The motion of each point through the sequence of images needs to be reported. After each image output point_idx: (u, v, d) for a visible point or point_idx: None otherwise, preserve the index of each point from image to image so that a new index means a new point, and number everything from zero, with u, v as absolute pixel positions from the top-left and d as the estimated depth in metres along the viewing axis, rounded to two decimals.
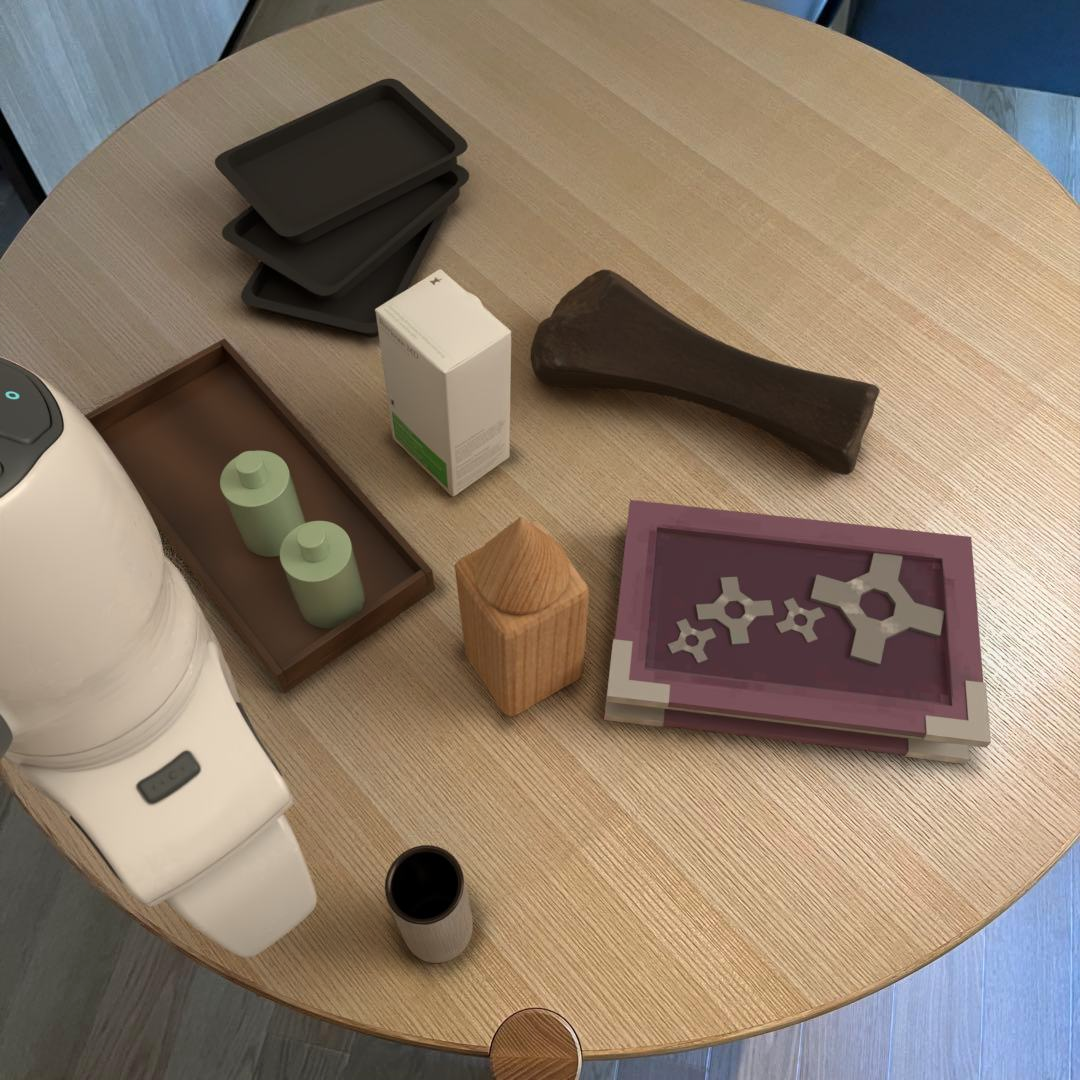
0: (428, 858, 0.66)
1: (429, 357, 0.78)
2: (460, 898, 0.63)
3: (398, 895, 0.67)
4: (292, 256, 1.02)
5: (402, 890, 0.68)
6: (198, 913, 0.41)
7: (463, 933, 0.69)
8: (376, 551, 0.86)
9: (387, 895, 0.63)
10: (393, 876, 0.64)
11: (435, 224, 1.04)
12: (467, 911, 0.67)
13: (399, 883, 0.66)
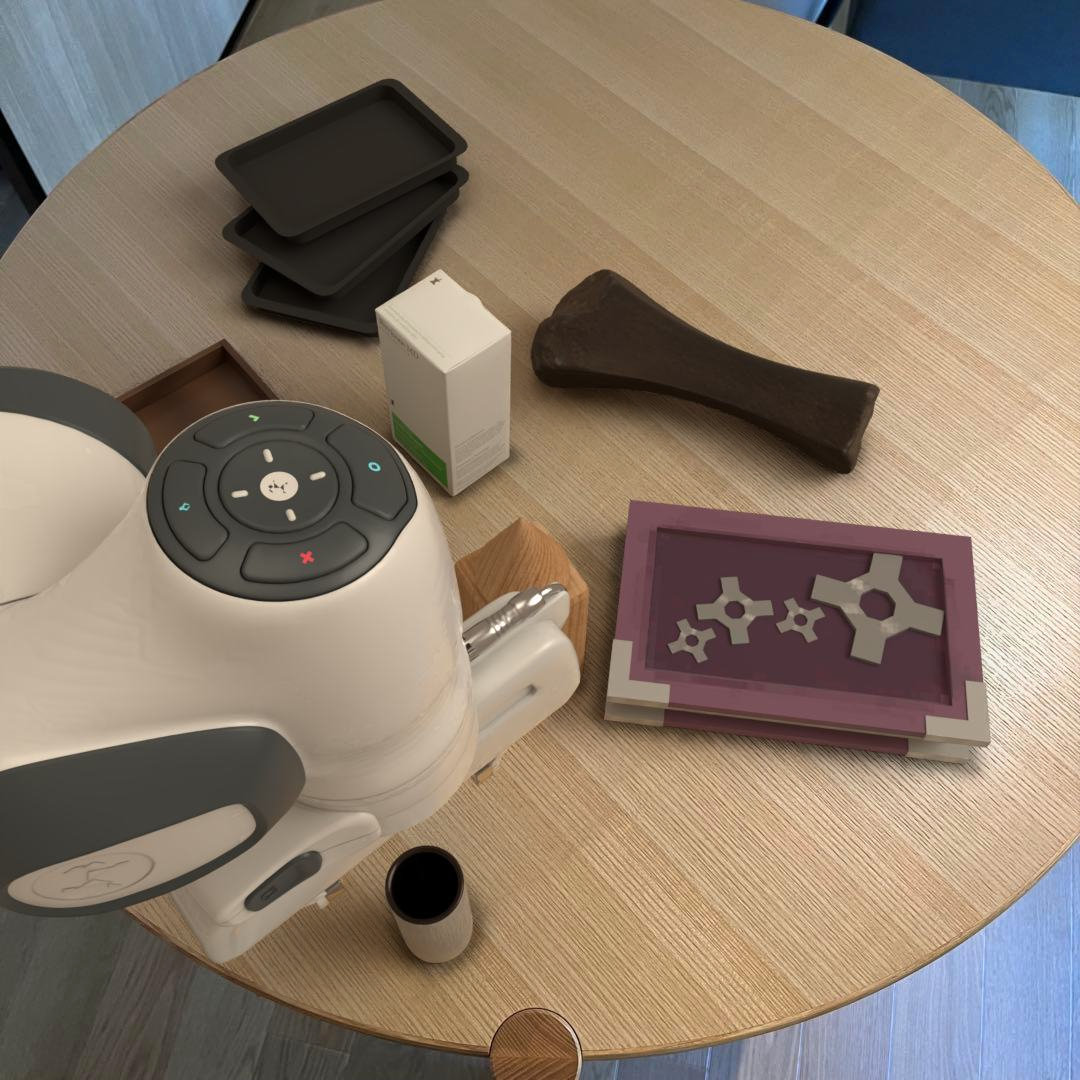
0: (428, 858, 0.66)
1: (429, 357, 0.78)
2: (460, 898, 0.63)
3: (398, 895, 0.66)
4: (292, 256, 1.02)
5: (402, 890, 0.67)
6: None
7: (463, 933, 0.69)
8: None
9: (387, 895, 0.63)
10: (393, 876, 0.64)
11: (435, 224, 1.04)
12: (467, 911, 0.67)
13: (399, 883, 0.66)
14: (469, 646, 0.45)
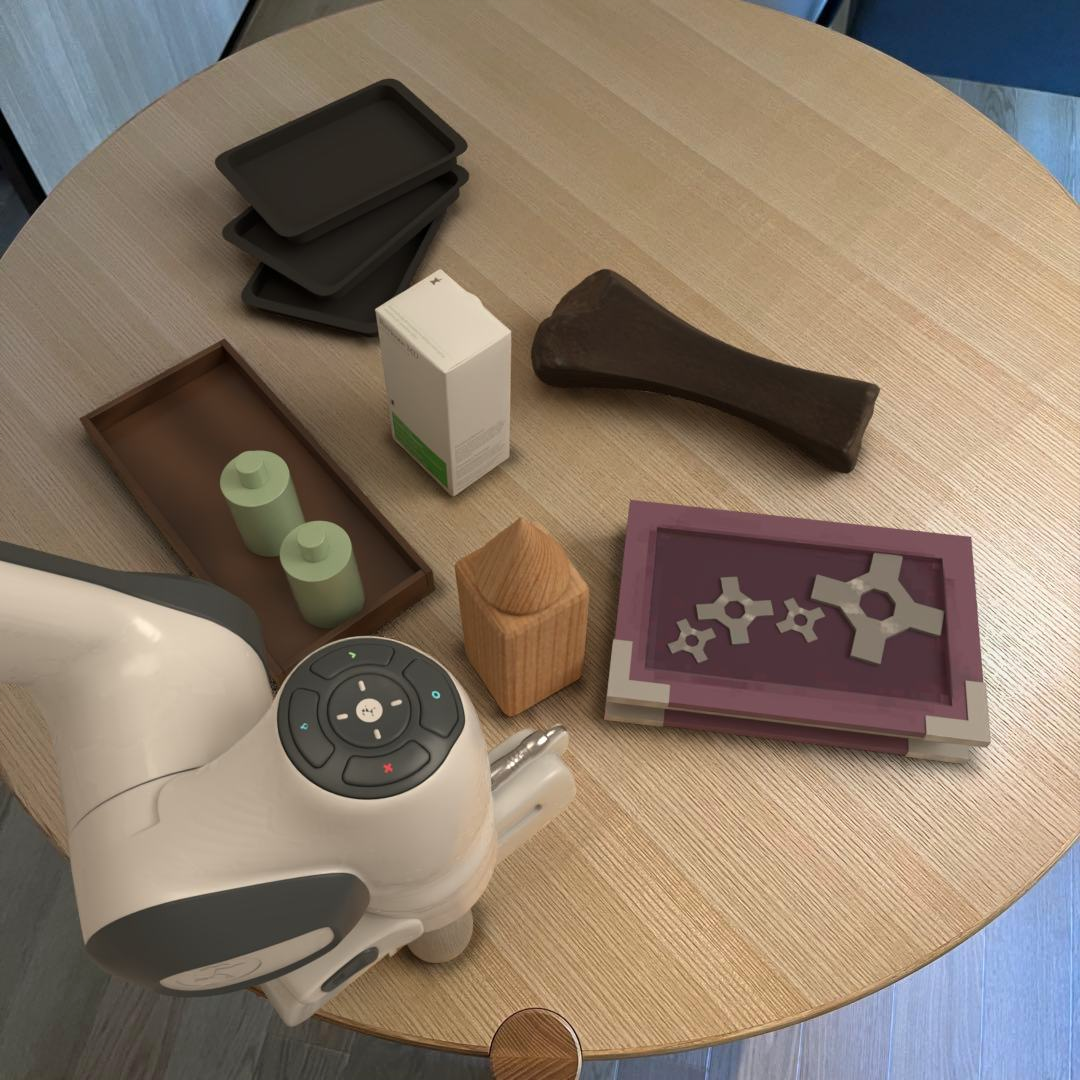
0: None
1: (430, 356, 0.78)
2: None
3: None
4: (292, 256, 1.02)
5: None
6: None
7: (463, 933, 0.69)
8: (376, 551, 0.86)
9: None
10: None
11: (435, 224, 1.04)
12: (467, 911, 0.67)
13: None
14: (491, 780, 0.58)
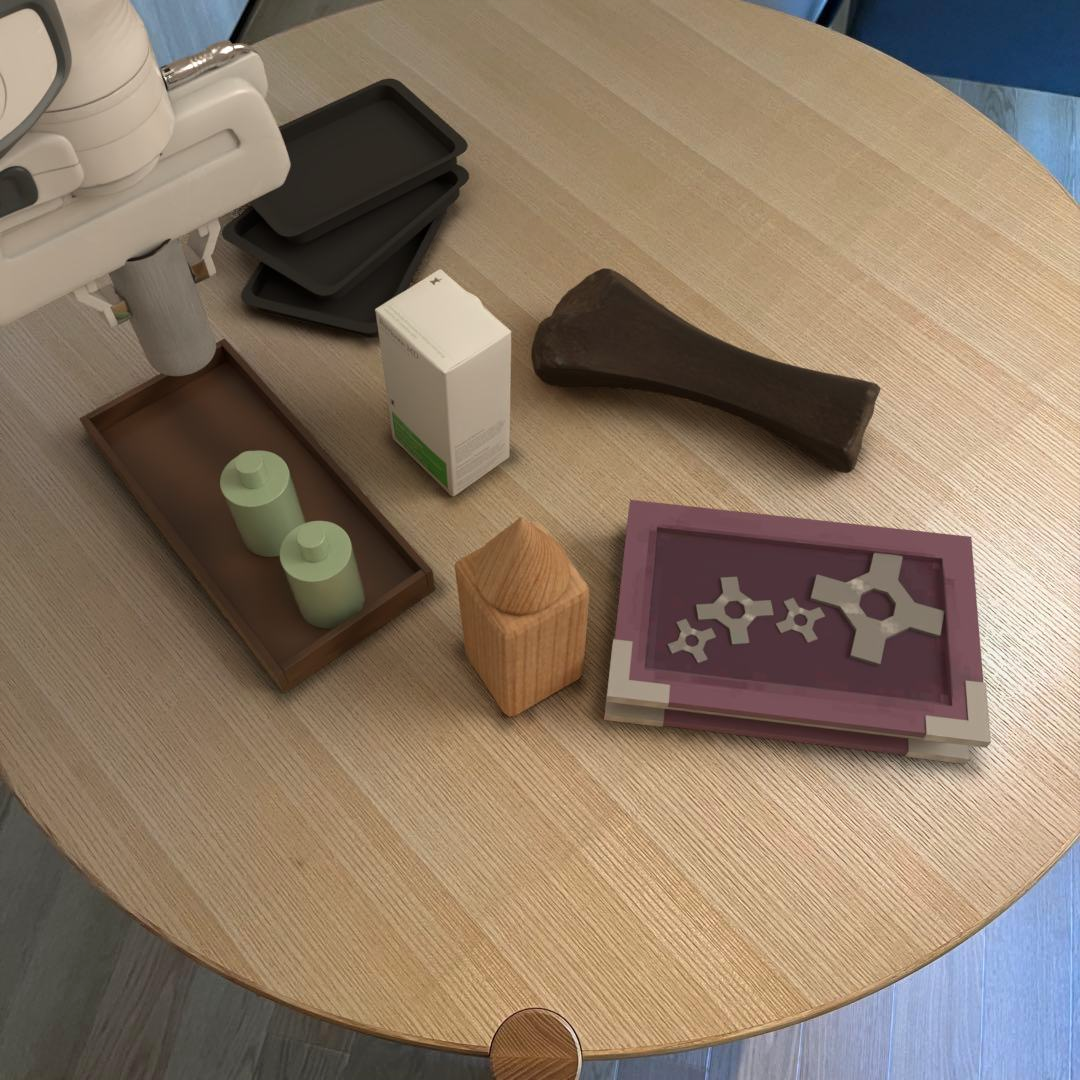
0: None
1: (429, 357, 0.78)
2: (167, 243, 0.65)
3: None
4: (292, 256, 1.02)
5: None
6: None
7: (192, 326, 0.70)
8: (376, 551, 0.86)
9: None
10: None
11: (435, 224, 1.04)
12: (190, 292, 0.69)
13: None
14: (169, 70, 0.60)
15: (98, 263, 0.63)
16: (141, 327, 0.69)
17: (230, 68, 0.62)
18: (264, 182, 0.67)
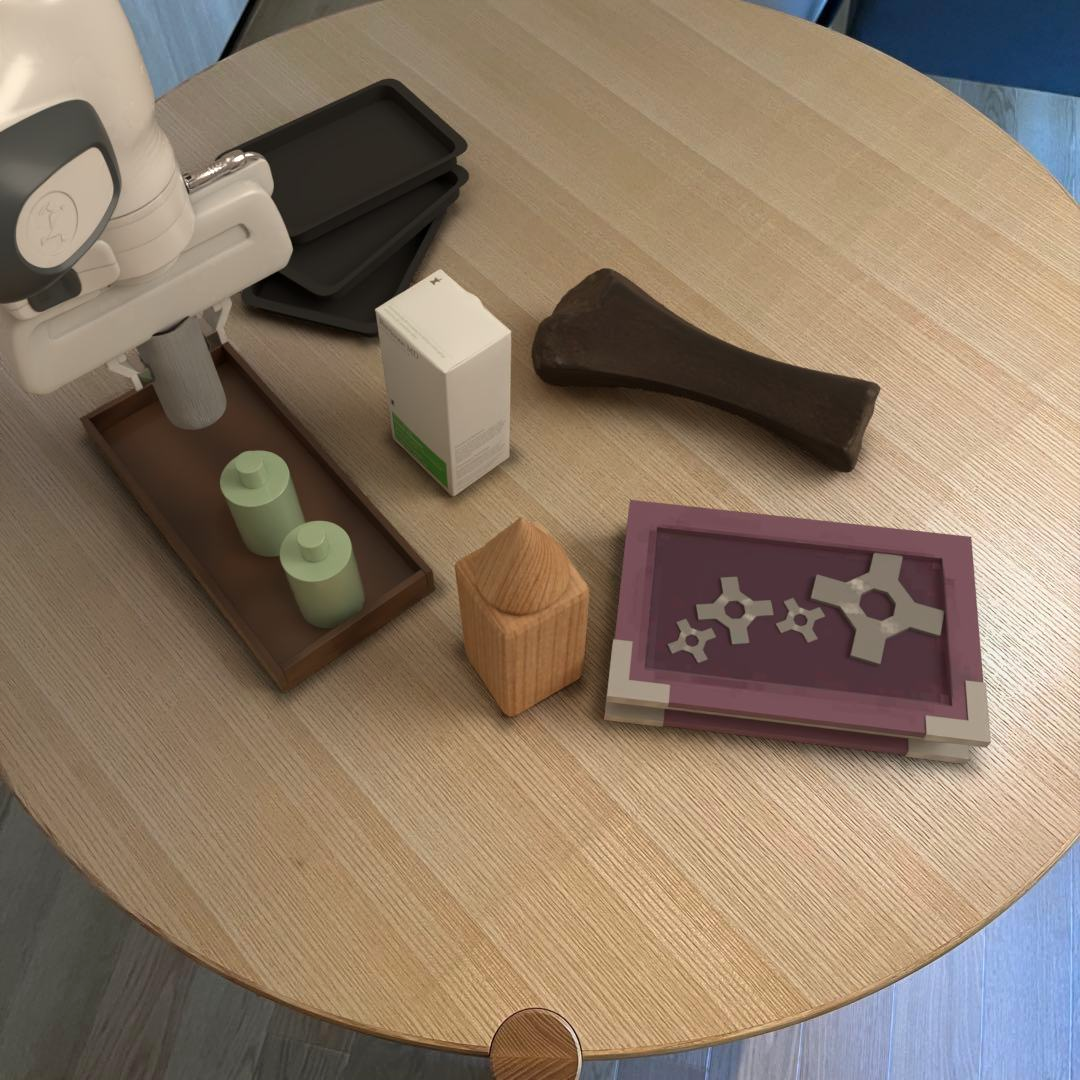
0: None
1: (430, 357, 0.78)
2: (186, 320, 0.75)
3: None
4: (292, 256, 1.02)
5: None
6: None
7: (206, 387, 0.81)
8: (376, 551, 0.86)
9: None
10: None
11: (435, 224, 1.04)
12: (205, 358, 0.79)
13: None
14: (190, 177, 0.70)
15: (128, 339, 0.73)
16: (162, 389, 0.79)
17: (242, 173, 0.72)
18: (270, 265, 0.77)
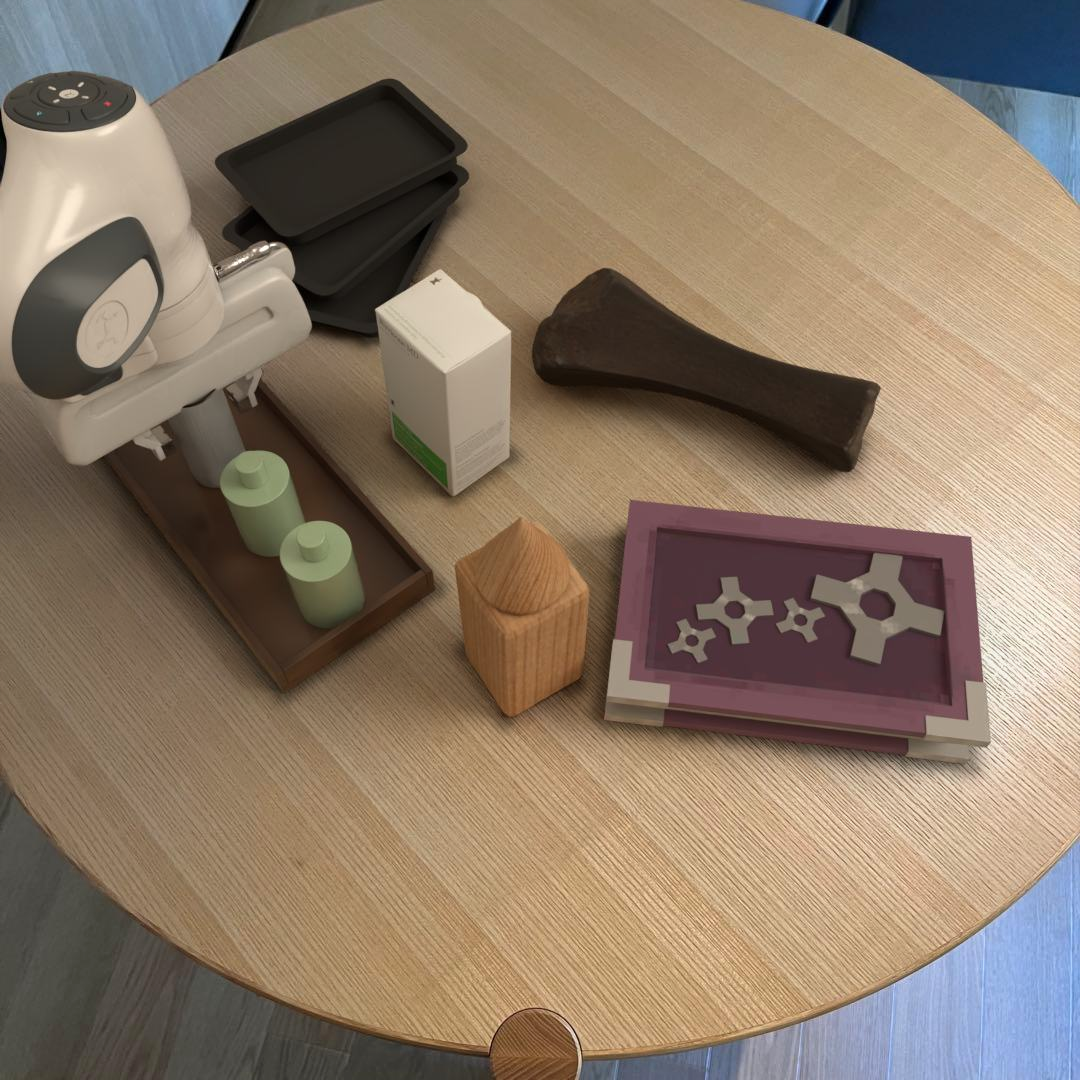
0: None
1: (429, 356, 0.78)
2: (213, 392, 0.82)
3: None
4: (292, 256, 1.02)
5: None
6: None
7: (230, 450, 0.87)
8: (376, 551, 0.86)
9: None
10: None
11: (435, 224, 1.04)
12: (230, 425, 0.85)
13: None
14: (220, 268, 0.77)
15: (162, 412, 0.80)
16: (190, 453, 0.86)
17: (266, 261, 0.79)
18: (291, 341, 0.84)
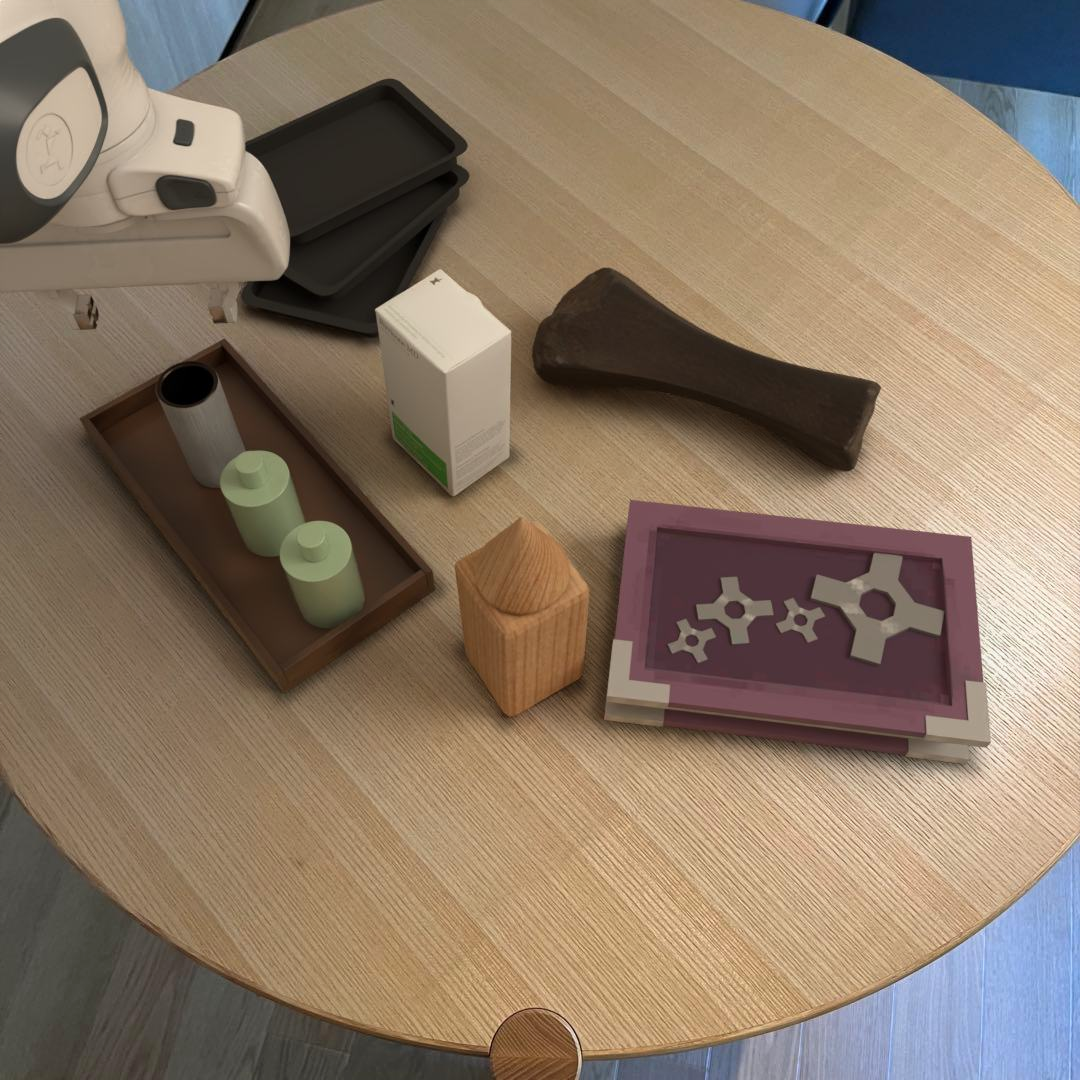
0: (195, 375, 0.84)
1: (430, 356, 0.78)
2: (213, 392, 0.82)
3: None
4: (292, 256, 1.02)
5: None
6: (254, 206, 0.67)
7: (230, 450, 0.87)
8: (376, 551, 0.86)
9: (157, 390, 0.82)
10: (163, 379, 0.82)
11: (435, 224, 1.04)
12: (230, 425, 0.85)
13: (173, 396, 0.84)
14: None
15: None
16: (190, 453, 0.86)
17: None
18: None
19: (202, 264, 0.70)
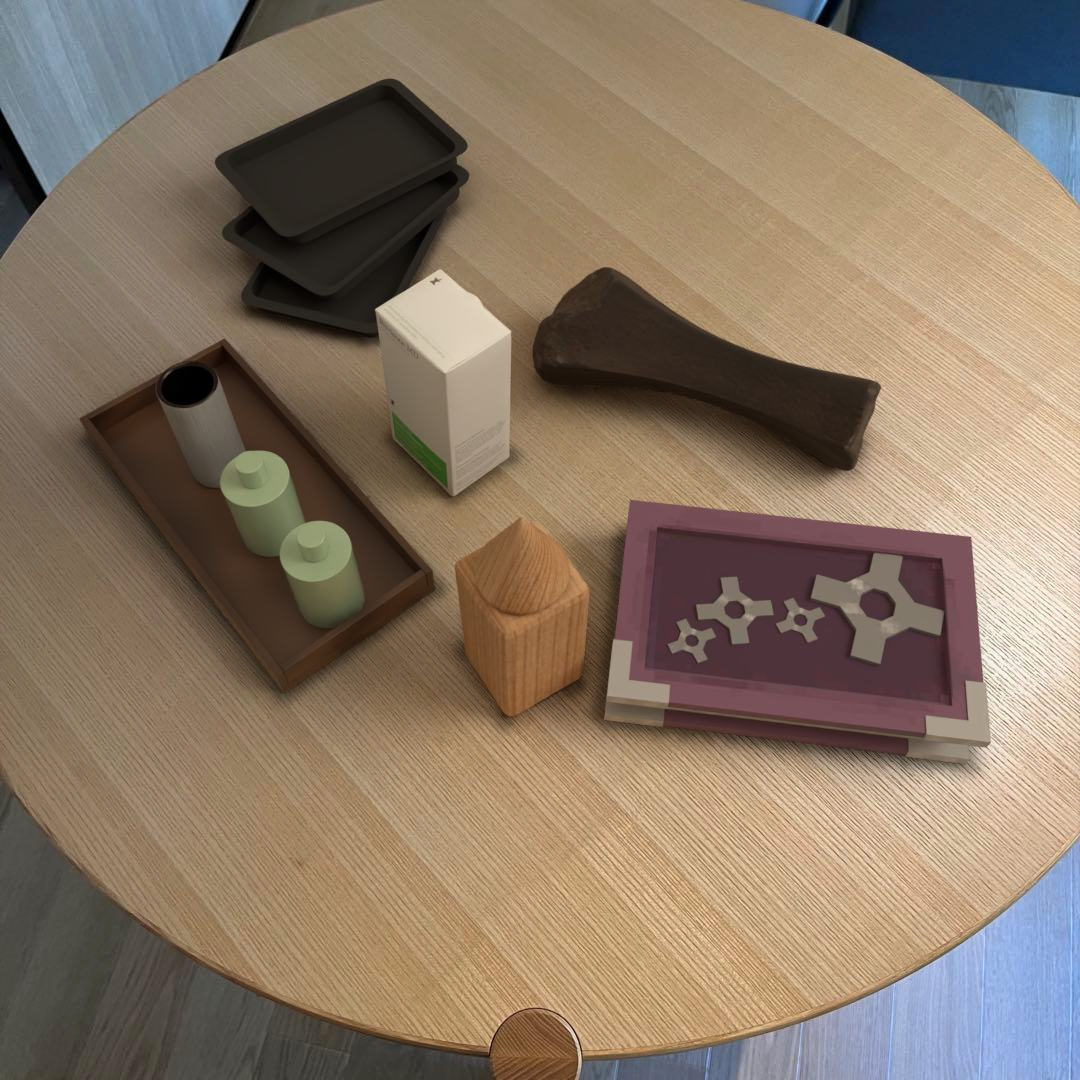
0: (195, 375, 0.84)
1: (430, 357, 0.78)
2: (213, 392, 0.82)
3: None
4: (292, 256, 1.02)
5: None
6: None
7: (230, 450, 0.87)
8: (376, 551, 0.86)
9: (157, 390, 0.82)
10: (163, 380, 0.82)
11: (435, 224, 1.04)
12: (230, 425, 0.85)
13: (173, 396, 0.84)
14: None
15: None
16: (190, 453, 0.86)
17: None
18: None
19: None
